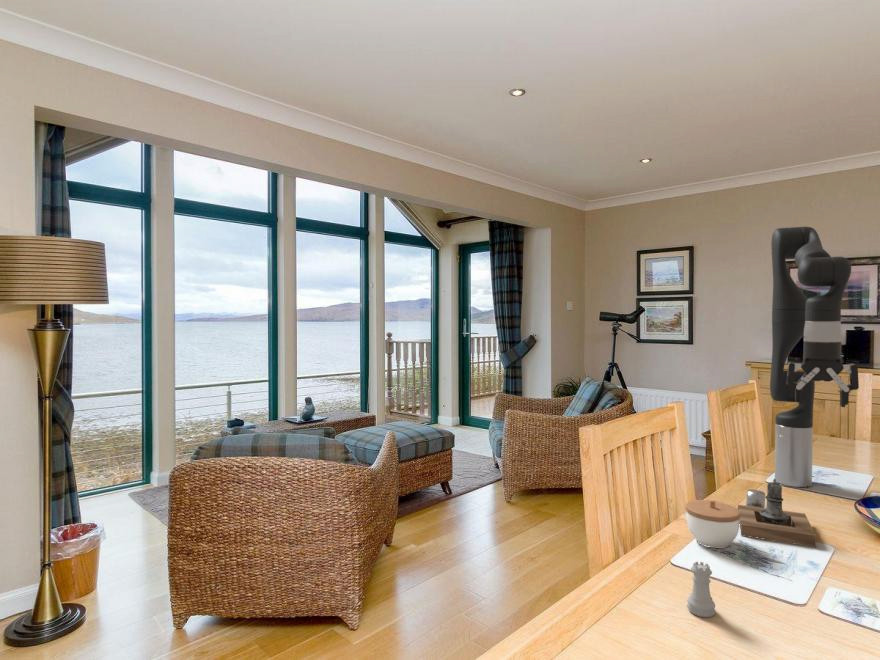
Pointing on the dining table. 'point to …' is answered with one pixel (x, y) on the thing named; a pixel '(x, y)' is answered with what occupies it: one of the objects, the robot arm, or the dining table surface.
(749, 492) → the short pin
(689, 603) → the rook chess piece
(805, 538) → the hole board
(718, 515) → the lidded jar
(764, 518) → the dark chess piece
